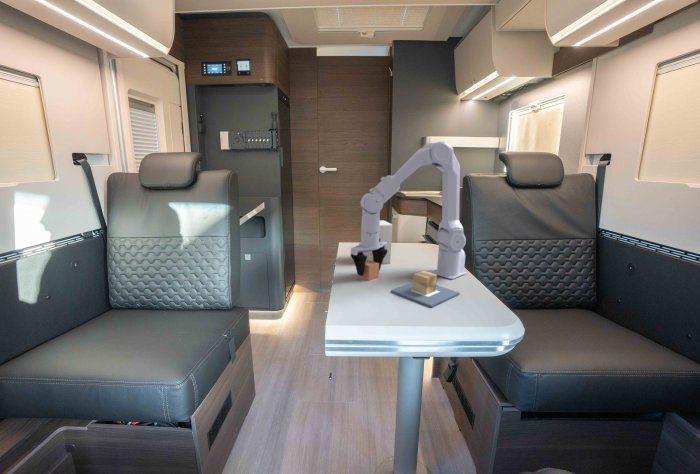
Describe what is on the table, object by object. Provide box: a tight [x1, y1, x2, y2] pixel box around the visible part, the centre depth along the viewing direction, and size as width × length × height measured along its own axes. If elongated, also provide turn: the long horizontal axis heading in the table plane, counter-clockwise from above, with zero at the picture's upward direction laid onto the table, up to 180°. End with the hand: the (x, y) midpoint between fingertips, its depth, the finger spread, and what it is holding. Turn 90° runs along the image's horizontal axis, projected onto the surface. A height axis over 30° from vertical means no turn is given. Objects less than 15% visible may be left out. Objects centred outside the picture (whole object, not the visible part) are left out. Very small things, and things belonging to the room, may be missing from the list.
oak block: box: [413, 270, 438, 295], centre depth 97 cm, size 5×5×5 cm
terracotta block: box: [358, 260, 380, 281], centre depth 109 cm, size 5×5×5 cm
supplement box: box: [363, 219, 393, 265], centre depth 126 cm, size 9×9×15 cm
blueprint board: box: [390, 281, 461, 309], centre depth 98 cm, size 14×14×1 cm
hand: (368, 272), depth 110 cm, fingers open, 7 cm apart
